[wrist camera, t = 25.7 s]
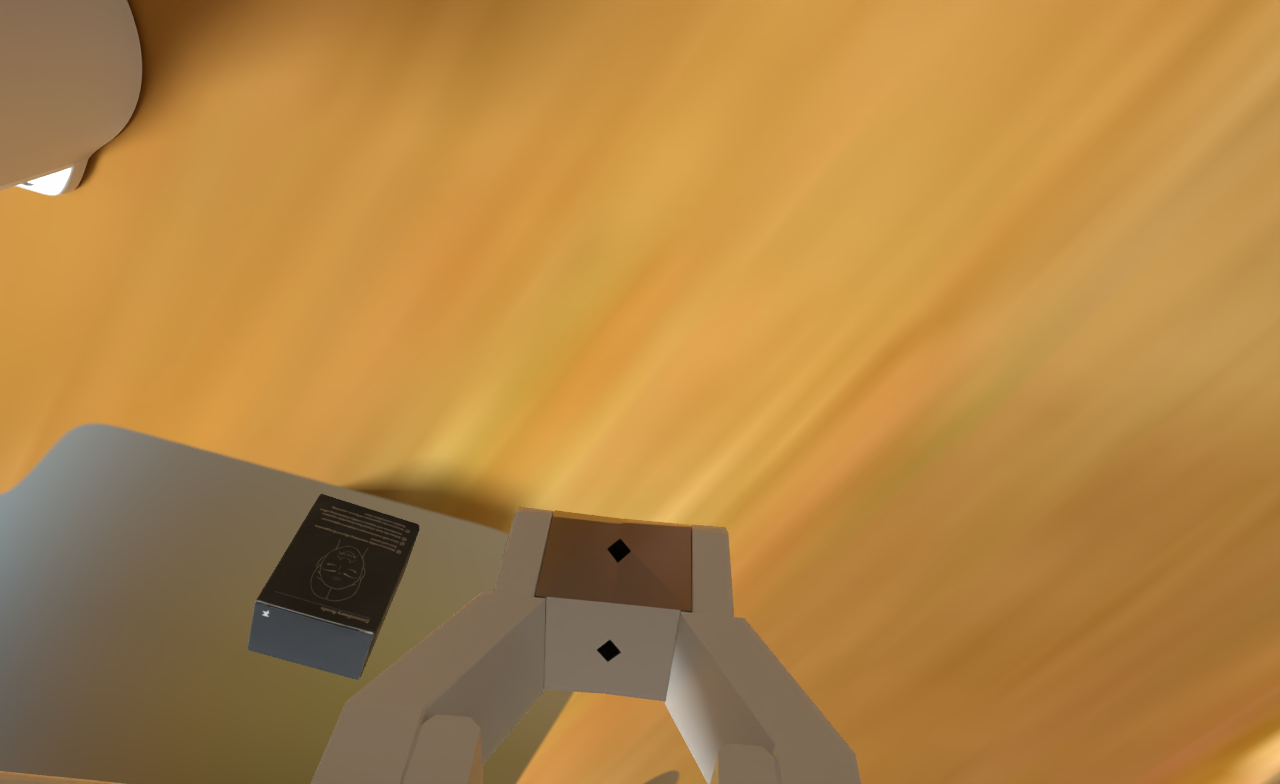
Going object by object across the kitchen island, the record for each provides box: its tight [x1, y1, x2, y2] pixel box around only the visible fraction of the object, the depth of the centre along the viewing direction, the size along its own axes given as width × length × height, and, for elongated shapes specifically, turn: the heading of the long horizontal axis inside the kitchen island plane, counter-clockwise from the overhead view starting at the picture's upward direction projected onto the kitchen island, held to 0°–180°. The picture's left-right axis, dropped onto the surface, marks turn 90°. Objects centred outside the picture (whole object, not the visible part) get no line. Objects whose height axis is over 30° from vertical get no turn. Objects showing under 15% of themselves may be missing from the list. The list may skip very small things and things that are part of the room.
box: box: [248, 494, 419, 680], centre depth 54 cm, size 8×6×11 cm
